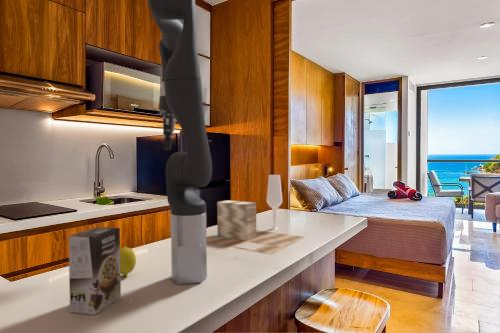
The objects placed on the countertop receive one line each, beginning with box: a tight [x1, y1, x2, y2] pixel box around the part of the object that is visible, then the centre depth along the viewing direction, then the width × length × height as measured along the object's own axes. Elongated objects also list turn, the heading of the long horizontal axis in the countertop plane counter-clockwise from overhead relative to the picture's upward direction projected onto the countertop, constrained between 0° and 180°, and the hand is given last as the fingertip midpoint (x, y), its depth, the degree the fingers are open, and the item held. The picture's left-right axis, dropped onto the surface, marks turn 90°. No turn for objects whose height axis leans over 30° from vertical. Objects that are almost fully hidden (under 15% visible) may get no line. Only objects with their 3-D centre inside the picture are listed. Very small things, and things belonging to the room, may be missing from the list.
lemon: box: [120, 246, 137, 277], centre depth 89 cm, size 6×6×8 cm
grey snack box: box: [68, 226, 122, 316], centre depth 72 cm, size 9×6×16 cm
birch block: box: [216, 199, 257, 240], centre depth 126 cm, size 14×6×13 cm, turn 56°
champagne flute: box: [266, 174, 283, 230], centre depth 139 cm, size 7×7×24 cm
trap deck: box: [206, 229, 306, 255], centre depth 123 cm, size 32×26×2 cm
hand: (167, 149), depth 110 cm, fingers closed
